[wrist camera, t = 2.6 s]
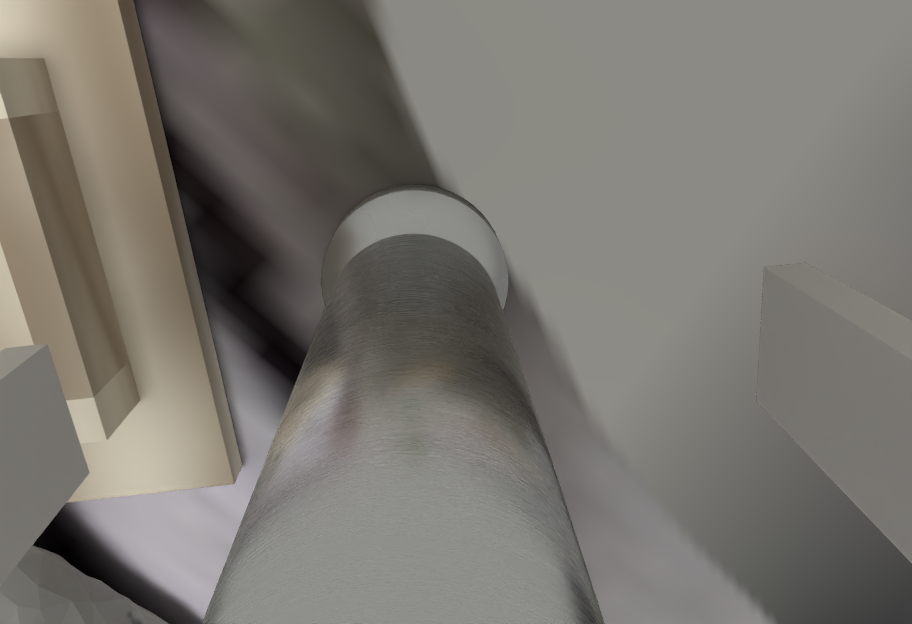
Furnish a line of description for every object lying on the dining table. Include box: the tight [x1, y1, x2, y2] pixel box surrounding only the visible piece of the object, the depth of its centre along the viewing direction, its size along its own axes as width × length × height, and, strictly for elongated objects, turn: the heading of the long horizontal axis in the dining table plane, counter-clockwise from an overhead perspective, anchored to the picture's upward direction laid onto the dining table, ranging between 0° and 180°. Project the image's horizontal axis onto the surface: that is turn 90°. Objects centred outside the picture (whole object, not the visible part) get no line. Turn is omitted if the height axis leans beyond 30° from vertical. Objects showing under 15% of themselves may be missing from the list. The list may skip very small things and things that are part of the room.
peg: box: [202, 184, 605, 624], centre depth 12 cm, size 5×5×16 cm
